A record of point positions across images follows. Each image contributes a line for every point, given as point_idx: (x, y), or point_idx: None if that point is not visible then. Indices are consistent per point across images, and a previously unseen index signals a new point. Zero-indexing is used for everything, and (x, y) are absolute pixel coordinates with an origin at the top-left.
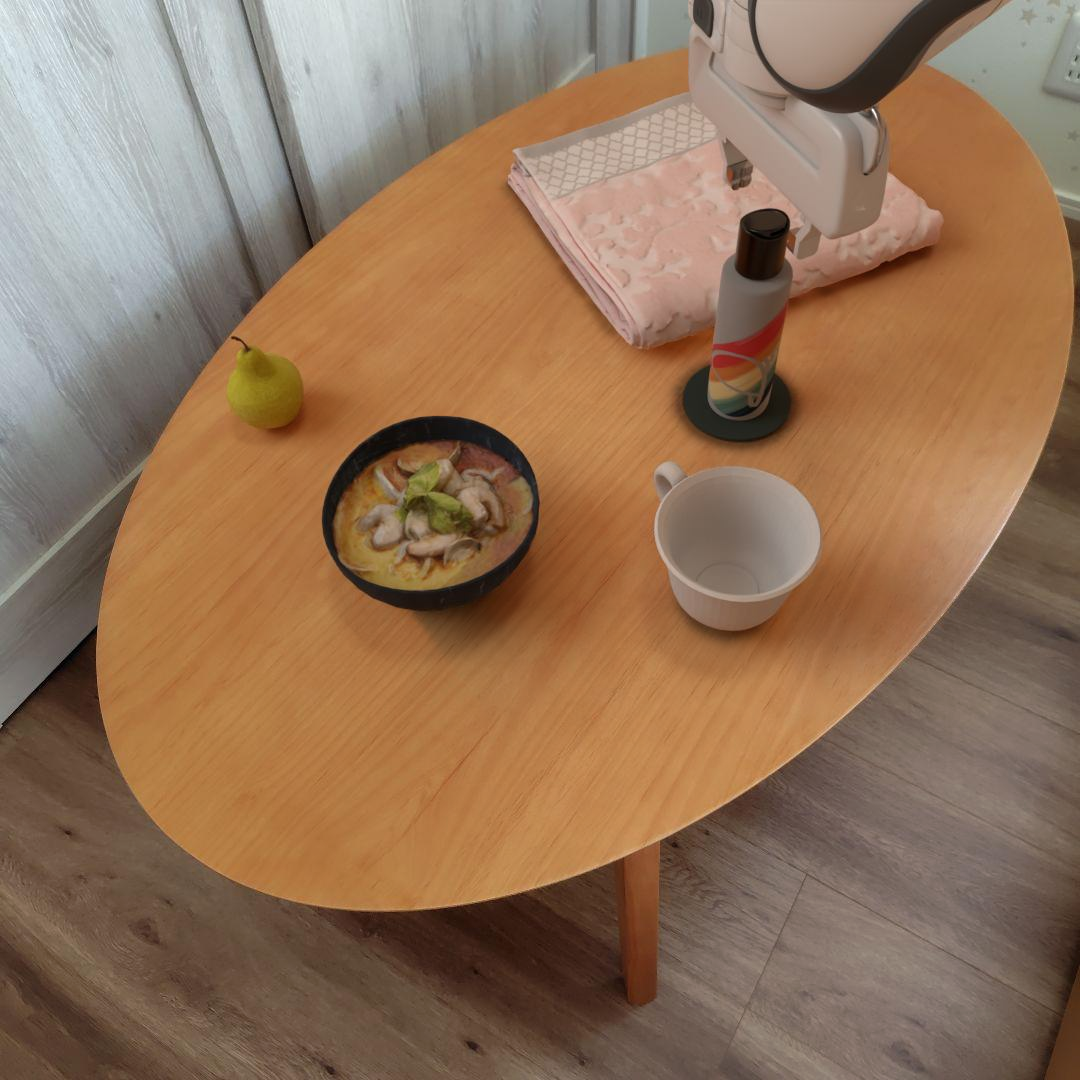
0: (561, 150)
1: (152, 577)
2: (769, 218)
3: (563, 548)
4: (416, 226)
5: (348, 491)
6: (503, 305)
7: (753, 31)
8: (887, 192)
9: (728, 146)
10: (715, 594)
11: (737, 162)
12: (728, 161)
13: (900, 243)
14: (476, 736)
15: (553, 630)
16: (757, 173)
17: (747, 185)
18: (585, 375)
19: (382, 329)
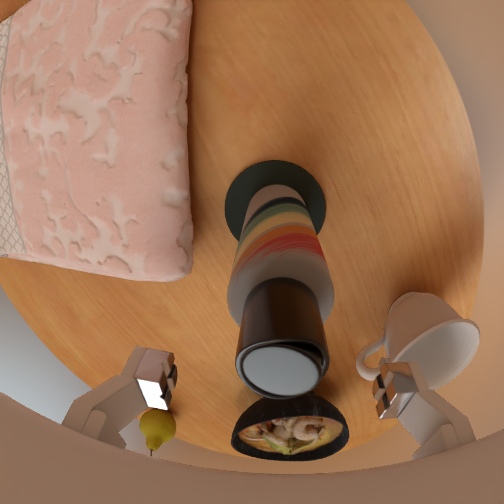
0: None
1: (232, 450)
2: (280, 366)
3: None
4: (35, 308)
5: (251, 444)
6: (103, 305)
7: None
8: None
9: (119, 422)
10: (447, 382)
11: (141, 394)
12: (141, 410)
13: None
14: (372, 406)
15: (357, 378)
16: (40, 74)
17: (173, 355)
18: (188, 295)
19: (111, 362)
